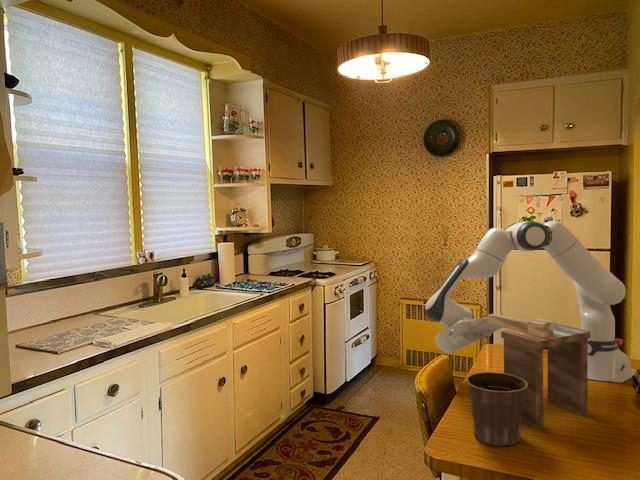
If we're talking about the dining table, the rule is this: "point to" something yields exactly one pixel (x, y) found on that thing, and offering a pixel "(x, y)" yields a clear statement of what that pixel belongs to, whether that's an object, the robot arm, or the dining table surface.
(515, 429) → the plant pot
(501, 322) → the marker stick
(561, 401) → the shelf
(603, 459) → the dining table surface
